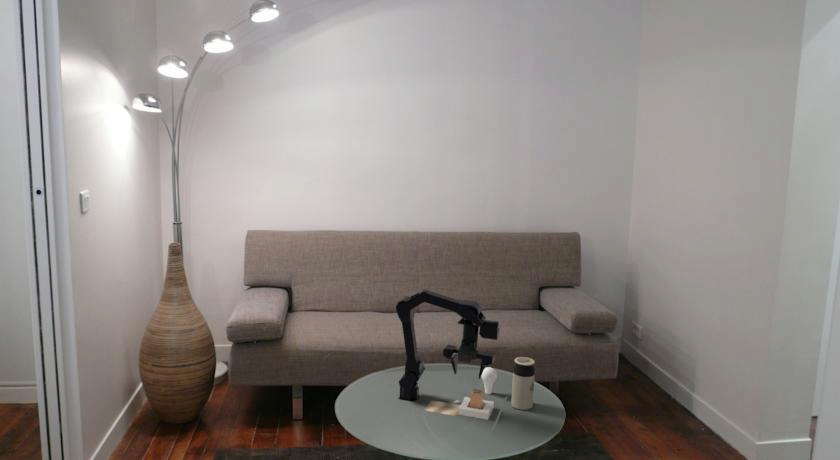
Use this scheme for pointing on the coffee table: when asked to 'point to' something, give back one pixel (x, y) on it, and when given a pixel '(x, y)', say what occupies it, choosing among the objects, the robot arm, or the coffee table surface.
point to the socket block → (476, 413)
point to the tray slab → (442, 408)
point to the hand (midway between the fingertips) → (467, 376)
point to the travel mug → (523, 383)
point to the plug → (476, 399)
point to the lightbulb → (488, 379)
